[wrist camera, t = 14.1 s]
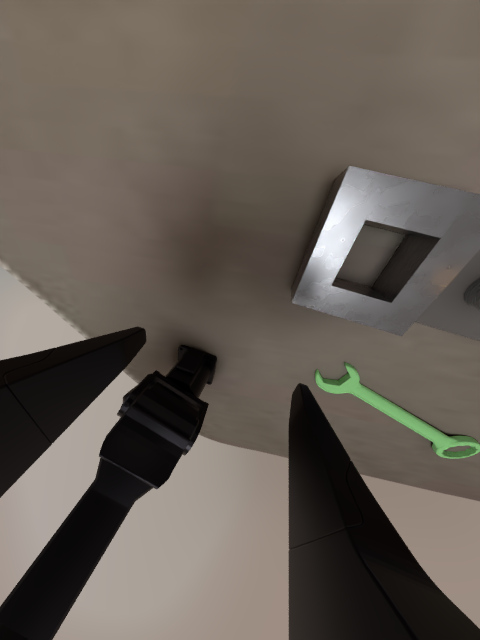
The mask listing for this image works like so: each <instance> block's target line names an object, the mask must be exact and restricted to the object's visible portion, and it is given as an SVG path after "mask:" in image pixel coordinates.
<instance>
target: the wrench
mask: <svg viewBox="0 0 480 640" xmlns="http://www.w3.org/2000/svg"><path fill="white" fill-rule="evenodd" d="M344 364H345V366H346V368H347V370H348V373H347V374H346V375H345V376H343V377H342V378H341V379H339V380H331V379H324V378H322V376H321V374H320V373H319V371H318V369H317V370H316V372H315V380H316V383H317V385H318V386H319V387H320V388H322V389H323V390H325V391H327V392H330V393H336V394H340V393H351V394H353V395H355V396H357V397H358V398H360V399H362V400H363V401H365V402H367V403H368V404H370V405H372V406H373V407H375V408H377V409H378V410H380V411H382V412H383V413H385V414H387V415H388V416H390V417H392V418H393V419H395V420H397V421H398V422H400V423H402V424H403V425H405V426H407V427H408V428H410V429H412V430H413V431H415V432H417V433H418V434H420V435H422V436H423V437H425V438H427V439H429V440H430V441H432V442H433V444H432V448H433V450H434V451H435V453H436V454H437V455H439V456H441V457H444V458H464V457H469V456H472V455H475V454H477V453H478V452H480V444H479V443H478V442H477V441H476V440H475V439H474V438H472V437H468V436H450V437H449V436H447V435H445V434H444V433H442V432H440V431H439V430H437V429H435V428H434V427H432V426H430V425H429V424H427V423H425V422H424V421H422V420H420V419H419V418H417V417H415V416H414V415H412V414H410V413H409V412H407V411H405V410H404V409H402V408H400V407H399V406H397V405H395V404H394V403H392V402H390V401H389V400H387V399H385V398H384V397H382V396H380V395H379V394H377V393H375V392H374V391H372V390H370V389H369V388H367V387H365V386H364V385H362V384H360V382H359V380H360V378H359V374H358V372H357V370H356V369H355V368H354V367H353V366H352V365H350V364H348V363H345V362H344ZM458 445H460V446H465V445H469V446H471V448H469V449H466V450H465V451H459V452H446V451H444V450H446V449H448V448H449V447H455V446H458Z"/></svg>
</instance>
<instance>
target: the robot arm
mask: <svg viewBox="0 0 480 640" xmlns="http://www.w3.org/2000/svg"><path fill="white" fill-rule="evenodd" d="M145 343H146V331H145V329H144V328H141V327H134V328H130V329H126V330H122V331H119V332H115V333H111V334H107V335H103V336H99V337H95V338H91V339H87V340H84V341H80V342H76V343H72V344H68V345H64V346H60V347H57V348H52V349H48V350H44V351H40V352H36V353H32V354H28V355H23V356H19V357H14V358H9V359H5V360H0V497H1V496H2V495H3V494H4V493H5V492H6V491H7V490H8V489H9V488H10V487H11V486H12V485H13V484H14V483H15V482H16V481H17V480H18V479H19V478H20V476H22V474H24V473H25V471H26V470H27V469H28V468H29V467H30V466H31V465H32V464H33V463H34V462H35V461H36V460H37V459H38V458H39V457H40V456H41V455H42V454H43V453H44V452H45V451H46V450H47V449H48V448H49V447H50V446H51V444H52V443H53V442H54V441H55V440H56V439H57V438H58V437H59V436H60V435H61V434H62V433H63V432H64V431H65V430H66V429H67V428H68V427H69V426H70V425H71V424H72V423H73V422H74V420H75V419H76V418H77V417H78V416H79V415H80V414H81V413H82V412H83V411H84V410H85V409H86V408H87V407H88V406H89V405H90V404H91V403H92V402H93V401H94V400H95V399H96V398H97V397H98V396H99V395H100V394H101V393H102V391H103V390H104V389H105V388H106V387H107V386H108V385H109V384H110V383H111V382H112V381H113V380H114V379H115V378H116V377H117V376H118V375H119V374H120V373H121V372H122V371H123V370H124V369H125V368H126V367H127V365H128V364H129V363H130V362H131V361H132V359H133V358H134V357H135V356H136V354H137V353H138V352H139V351H140V349H141V348H142V347H143V346H144V344H145ZM216 362H217V358H216V357H215V356H212V355H210V354H207V353H204V352H201V351H198V350H195V349H192V348H190V347H187V346H184V345H180V346H179V348H178V362H177V363H176V364H175V365H174V367H173V368H172V369H171V370H170V372H169V373H168V374H167V375H166V376H163V375H162V374H160V372H158V371H157V370H156V371H155V372H154V373H153V374H148V375H147V376H146V377H145V378H144V379H143V380H142V381H141V382H140V383H139V384H138V385H137V386H136V387H135V388H133V389H132V390H130V391H129V392H128V393H127V394H126V395H125V396H124V397H123V404H122V406H121V409H120V410H119V412H118V413H117V415H118V416H120V417H121V418H120V419H119V421H118V422H117V423H116V424H115V426H114V427H113V428H112V429H111V431H110V432H109V433H108V435H107V436H106V438H105V440H104V442H103V444H102V447H101V450H100V454H99V457H101V458H100V462H99V466H98V470H97V474H96V478H95V480H94V482H93V483H92V484H91V486H90V487H89V488H88V490H87V491H86V492H85V494H84V495H83V496H82V498H81V499H80V500H79V502H78V503H77V505H76V506H75V507H74V508H73V510H72V511H71V512H70V514H69V515H68V517H67V518H66V519H65V520H64V522H63V523H62V525H61V526H60V527H59V529H58V530H57V531H56V533H55V534H54V535H53V537H52V538H51V539H50V541H49V542H48V543H47V545H46V546H45V547H44V549H43V550H42V552H41V553H40V554H39V556H38V557H37V558H36V560H35V561H34V562H33V564H32V565H31V566H30V567H29V569H28V570H27V571H26V573H25V574H24V576H23V577H22V578H21V580H20V581H19V582H18V584H17V585H16V586H15V588H14V589H13V590H12V592H11V593H10V594H9V596H8V597H7V598H6V600H5V601H4V602H3V604H2V605H1V606H0V640H52V639H53V638H54V636H55V634H56V633H57V631H58V629H59V628H60V626H61V624H62V622H63V621H64V619H65V618H66V616H67V614H68V612H69V611H70V609H71V608H72V606H73V604H74V602H75V601H76V599H77V597H78V596H79V594H80V592H81V591H82V589H83V587H84V586H85V584H86V582H87V581H88V579H89V577H90V576H91V574H92V572H93V571H94V569H95V567H96V566H97V564H98V562H99V561H100V559H101V557H102V556H103V554H104V552H105V551H106V549H107V547H108V546H109V544H110V542H111V541H112V539H113V537H114V536H115V534H116V532H117V531H118V529H119V527H120V525H121V524H122V522H123V521H124V519H125V517H126V516H127V513H128V512H129V510H130V509H131V507H132V505H133V504H134V502H135V501H136V500H138V499H139V498H140V497H142V496H143V495H144V494H145V493H147V492H148V491H150V490H151V489H152V488H155V489H158V488H159V487H160V486H161V485H163V484H164V483H165V482H166V481H167V480H168V479H169V477H170V475H171V473H172V471H173V469H174V467H175V466H176V464H177V462H178V461H179V459H180V457H181V456H182V454H183V455H186V454H187V453H188V451H189V450H190V449H191V447H192V446H193V444H194V442H195V441H196V439H197V437H198V435H199V432H200V430H201V427H202V424H203V421H204V417H205V414H206V411H207V408H208V405H209V404H208V403H206V402H204V401H202V400H200V399H199V396H200V394H201V392H202V390H203V388H204V386H205V384H206V383H207V384H212V381H213V377H214V372H215V367H216ZM289 640H480V629H479V628H478V627H477V626H476V625H475V624H474V623H473V622H472V621H471V620H470V619H469V618H468V617H467V616H466V615H465V614H464V613H463V612H462V611H461V610H460V609H459V608H458V607H457V606H456V605H455V604H453V602H451V600H450V599H449V598H448V597H447V596H446V595H445V594H444V593H443V592H442V591H441V590H440V589H439V588H438V587H437V586H436V585H435V583H434V582H433V581H432V580H431V579H430V577H429V576H428V575H427V574H426V572H425V571H424V570H423V569H422V567H421V566H420V565H419V563H418V562H417V560H416V559H415V557H414V556H413V555H412V553H411V552H410V550H409V549H408V547H407V546H406V544H405V543H404V541H403V540H402V538H401V537H400V536H399V534H398V533H397V531H396V529H395V528H394V526H393V525H392V523H391V522H390V521H389V519H388V517H387V516H386V514H385V513H384V512H383V510H382V509H381V507H380V505H379V504H378V502H377V501H376V500H375V498H374V496H373V495H372V493H371V492H370V490H369V489H368V487H367V486H366V484H365V482H364V481H363V479H362V477H361V476H360V474H359V472H358V471H357V469H356V467H355V466H354V464H353V462H352V461H350V457H349V456H348V454H347V452H346V451H345V449H344V447H343V445H342V444H341V442H340V440H339V439H338V437H337V435H336V434H335V432H334V430H333V428H332V427H331V425H330V423H329V422H328V420H327V418H326V417H325V415H324V413H323V412H322V410H321V408H320V406H319V405H318V403H317V401H316V400H315V398H314V396H313V395H312V393H311V391H310V390H309V388H308V386H307V385H304V384H301V383H299V384H298V385H297V387H296V388H295V390H294V392H293V394H292V400H291V409H290V418H289Z"/></svg>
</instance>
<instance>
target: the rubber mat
mask: <svg viewBox="0 0 480 640" xmlns="http://www.w3.org/2000/svg"><path fill="white" fill-rule="evenodd" d="M479 278H480V250H479V251H478V252H477V253H476V254H475V255H474V256H473V258H472V259H471V260H470V261H469V262H468V263H467V264H466V265H465V266H464V268H463V269H462V270H461V271H460V272H459V273H458V274H457V275H456V276H455V278H454V279H453V280H452V281H451V282H450V283H449V284H448V285H447V286H446V288H445V289H444V290H443V291H442V292H441V293H440V294H439V295H438V296H437V298H436V299H435V300H434V301H433V302H432V303H431V304H430V305H429V306H428V308H427V309H426V310H425V311H424V312H423V313H422V314H421V315H420V316H419V318H418V319H417V320H416V321H415V322H416V323H420V324H423V325H427V326H430V327H433V328H437V329H440V330H444V331H447V332H450V333H454V334H457V335H461V336H464V337H467V338H471V339H474V340H478V341H480V310H478V309H476V308H474V307H471V306H469V305H467V304H466V303H465V301H464V299H463V296H464V292H465V290H466V289H467V287H468V286H469V285H470V284H471V283H473V282H474V281H475V280H477V279H479Z"/></svg>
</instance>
